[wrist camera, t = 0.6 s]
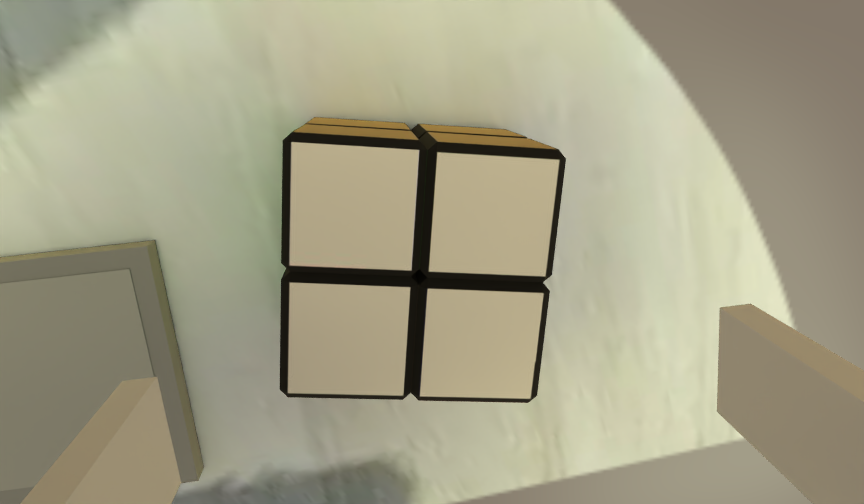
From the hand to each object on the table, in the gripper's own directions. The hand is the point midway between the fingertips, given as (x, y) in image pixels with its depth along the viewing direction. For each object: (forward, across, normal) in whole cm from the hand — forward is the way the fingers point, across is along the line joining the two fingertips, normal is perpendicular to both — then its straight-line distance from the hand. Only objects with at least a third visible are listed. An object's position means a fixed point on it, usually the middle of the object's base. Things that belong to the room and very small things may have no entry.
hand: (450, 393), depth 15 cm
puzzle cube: (+19, 0, 0) cm, 19 cm away
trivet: (+19, -19, -6) cm, 27 cm away
